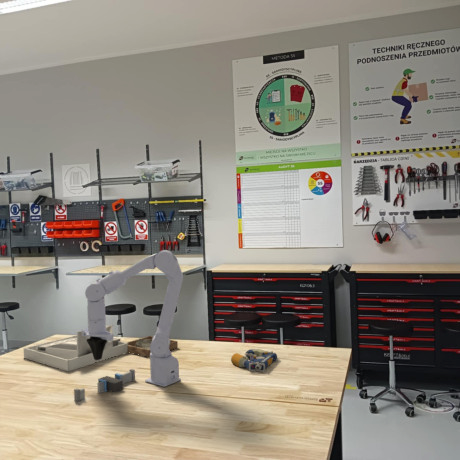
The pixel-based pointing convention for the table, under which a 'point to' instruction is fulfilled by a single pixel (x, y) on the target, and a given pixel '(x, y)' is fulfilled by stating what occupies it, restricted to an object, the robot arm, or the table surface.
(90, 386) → the table surface
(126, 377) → the blue capped pillar
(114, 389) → the charcoal brick
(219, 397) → the table surface
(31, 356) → the container tray
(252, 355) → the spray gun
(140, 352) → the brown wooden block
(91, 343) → the robot arm
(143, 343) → the rock sample
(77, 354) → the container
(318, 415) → the table surface
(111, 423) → the table surface
